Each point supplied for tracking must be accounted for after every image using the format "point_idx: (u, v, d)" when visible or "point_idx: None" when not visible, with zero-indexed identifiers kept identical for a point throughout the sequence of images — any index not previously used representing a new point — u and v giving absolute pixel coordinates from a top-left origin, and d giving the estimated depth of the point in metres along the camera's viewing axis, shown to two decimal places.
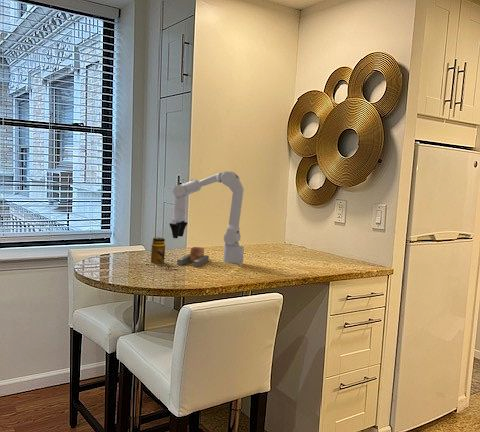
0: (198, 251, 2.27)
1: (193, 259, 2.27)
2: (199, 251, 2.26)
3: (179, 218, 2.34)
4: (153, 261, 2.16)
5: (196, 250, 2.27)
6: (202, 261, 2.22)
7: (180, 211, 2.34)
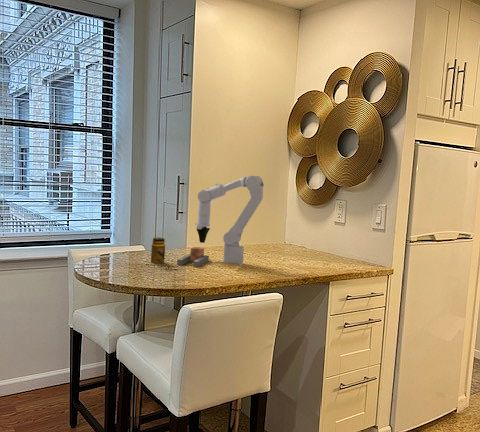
0: (198, 251, 2.27)
1: (193, 259, 2.27)
2: (199, 251, 2.26)
3: (204, 223, 2.33)
4: (153, 261, 2.16)
5: (196, 250, 2.27)
6: (202, 261, 2.22)
7: (205, 216, 2.32)
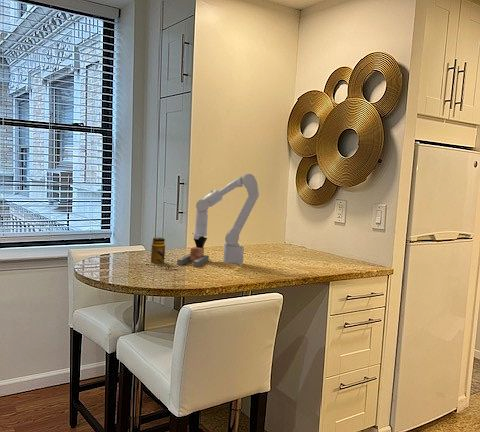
0: (198, 251, 2.26)
1: (193, 259, 2.27)
2: (199, 251, 2.26)
3: (201, 233, 2.29)
4: (153, 261, 2.16)
5: (196, 250, 2.26)
6: (202, 261, 2.22)
7: (202, 226, 2.29)
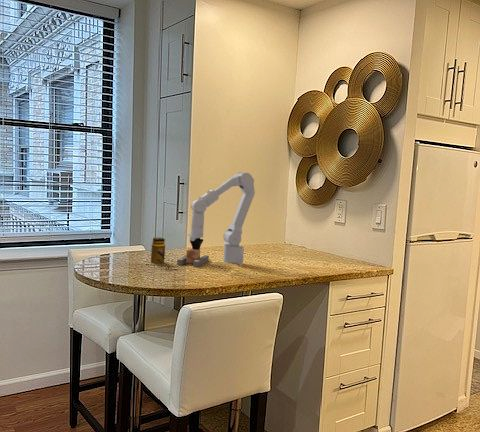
0: (194, 253, 2.20)
1: (189, 261, 2.21)
2: (195, 253, 2.20)
3: (197, 234, 2.23)
4: (153, 261, 2.16)
5: (192, 252, 2.21)
6: (202, 261, 2.22)
7: (198, 227, 2.23)
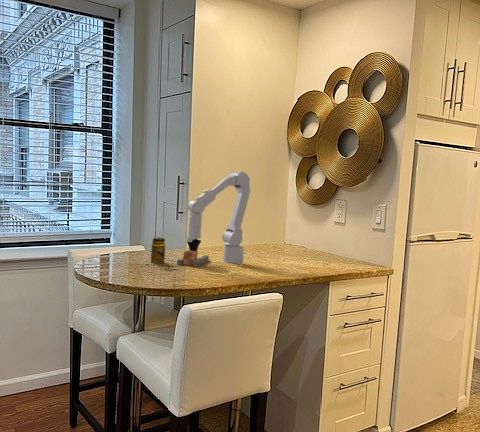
0: (191, 254, 2.16)
1: (186, 263, 2.17)
2: (192, 254, 2.16)
3: (195, 235, 2.19)
4: (153, 261, 2.16)
5: (189, 253, 2.17)
6: (202, 261, 2.22)
7: (196, 228, 2.19)
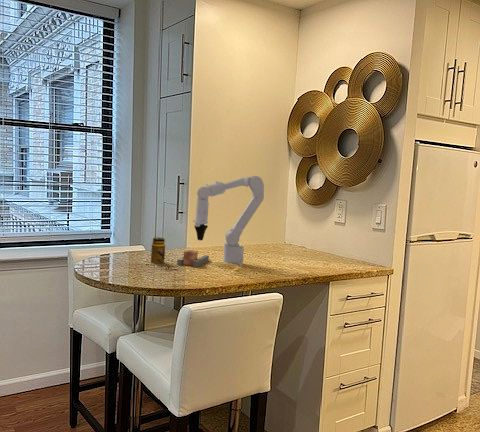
0: (191, 254, 2.16)
1: (186, 263, 2.17)
2: (192, 254, 2.16)
3: (202, 220, 2.27)
4: (153, 261, 2.16)
5: (189, 253, 2.17)
6: (202, 261, 2.22)
7: (203, 213, 2.27)
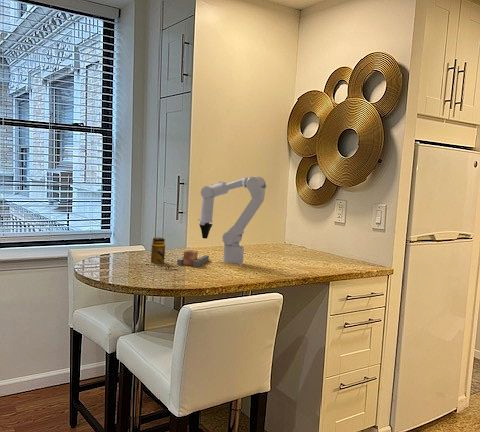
0: (191, 254, 2.16)
1: (186, 263, 2.17)
2: (192, 254, 2.16)
3: (207, 219, 2.34)
4: (153, 261, 2.16)
5: (189, 253, 2.17)
6: (202, 261, 2.22)
7: (208, 212, 2.34)
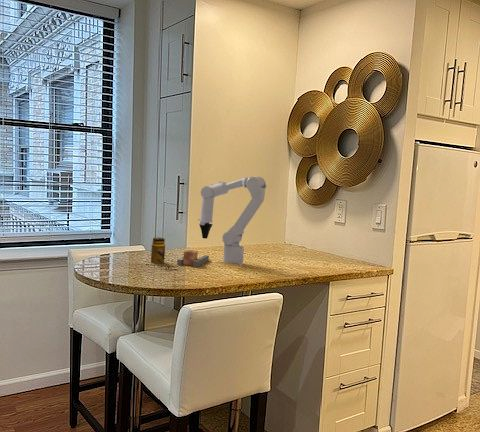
0: (191, 254, 2.16)
1: (186, 263, 2.17)
2: (192, 254, 2.16)
3: (207, 219, 2.34)
4: (153, 261, 2.16)
5: (189, 253, 2.17)
6: (202, 261, 2.22)
7: (208, 212, 2.34)
